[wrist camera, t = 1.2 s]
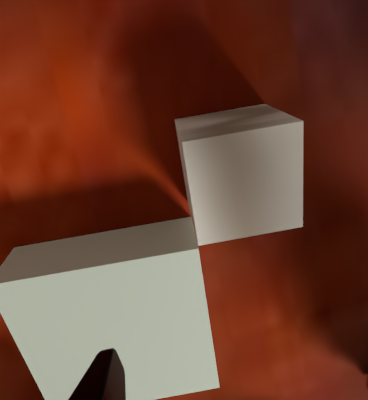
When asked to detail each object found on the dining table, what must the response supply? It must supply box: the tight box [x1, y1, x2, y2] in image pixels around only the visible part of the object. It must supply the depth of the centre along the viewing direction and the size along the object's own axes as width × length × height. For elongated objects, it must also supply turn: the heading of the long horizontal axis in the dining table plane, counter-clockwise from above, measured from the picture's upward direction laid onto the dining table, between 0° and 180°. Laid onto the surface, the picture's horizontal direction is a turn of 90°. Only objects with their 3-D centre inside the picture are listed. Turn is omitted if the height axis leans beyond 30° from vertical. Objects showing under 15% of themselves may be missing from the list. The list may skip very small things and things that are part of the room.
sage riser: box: [0, 217, 220, 400], centre depth 21 cm, size 11×11×4 cm
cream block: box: [174, 104, 303, 246], centre depth 16 cm, size 5×5×5 cm
